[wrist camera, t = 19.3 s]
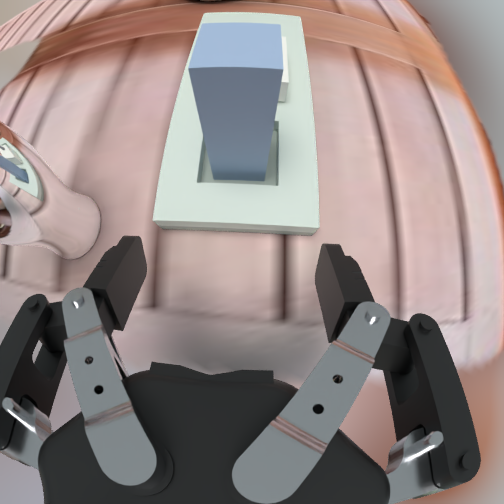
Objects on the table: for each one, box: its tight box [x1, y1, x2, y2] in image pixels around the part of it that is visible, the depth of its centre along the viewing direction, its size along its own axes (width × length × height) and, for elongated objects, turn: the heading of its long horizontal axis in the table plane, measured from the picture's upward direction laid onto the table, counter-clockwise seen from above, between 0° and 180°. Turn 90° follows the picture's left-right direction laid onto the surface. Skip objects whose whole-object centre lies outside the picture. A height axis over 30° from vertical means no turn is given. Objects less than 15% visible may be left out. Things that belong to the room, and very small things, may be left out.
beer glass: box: [0, 121, 101, 259], centre depth 14 cm, size 7×7×15 cm
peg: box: [188, 22, 283, 181], centre depth 16 cm, size 4×4×12 cm
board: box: [153, 12, 319, 236], centre depth 23 cm, size 12×28×2 cm, turn 177°
